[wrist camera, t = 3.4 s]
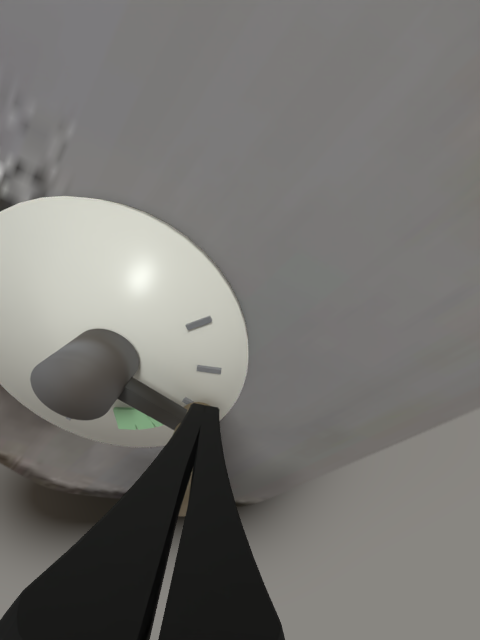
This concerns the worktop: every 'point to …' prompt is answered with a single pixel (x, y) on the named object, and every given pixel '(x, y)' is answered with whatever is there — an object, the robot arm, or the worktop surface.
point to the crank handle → (101, 383)
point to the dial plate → (117, 308)
